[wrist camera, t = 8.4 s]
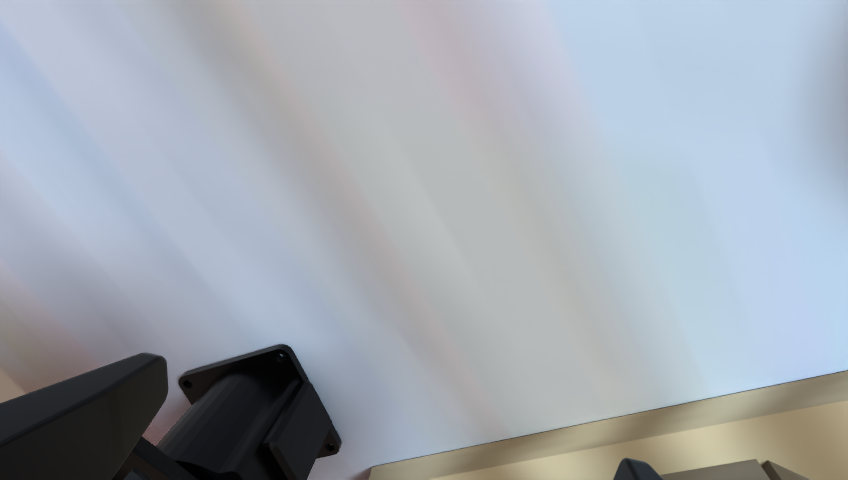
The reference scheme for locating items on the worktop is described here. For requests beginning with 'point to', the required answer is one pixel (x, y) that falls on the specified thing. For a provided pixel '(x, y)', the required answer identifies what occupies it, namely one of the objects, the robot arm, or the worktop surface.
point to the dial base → (673, 442)
